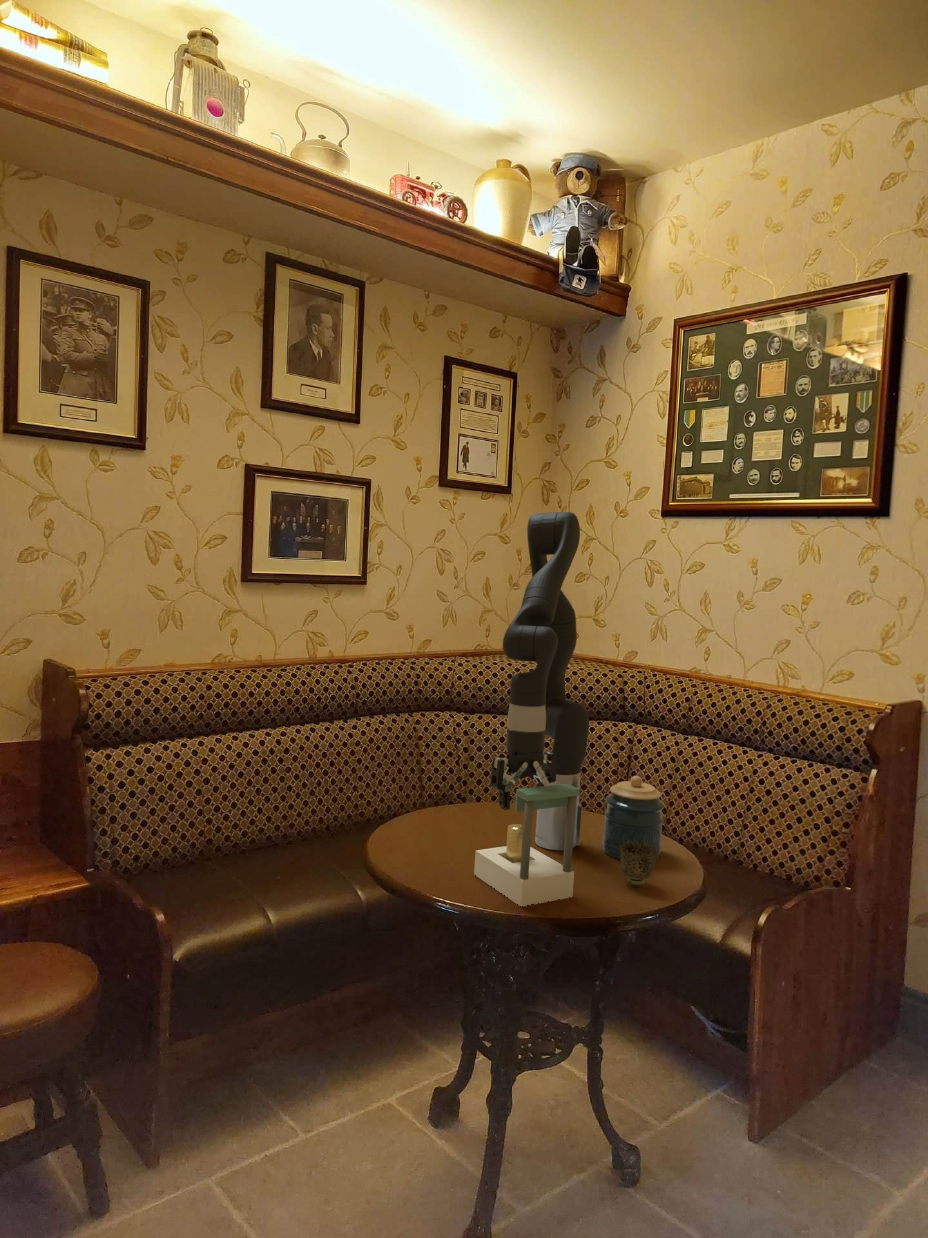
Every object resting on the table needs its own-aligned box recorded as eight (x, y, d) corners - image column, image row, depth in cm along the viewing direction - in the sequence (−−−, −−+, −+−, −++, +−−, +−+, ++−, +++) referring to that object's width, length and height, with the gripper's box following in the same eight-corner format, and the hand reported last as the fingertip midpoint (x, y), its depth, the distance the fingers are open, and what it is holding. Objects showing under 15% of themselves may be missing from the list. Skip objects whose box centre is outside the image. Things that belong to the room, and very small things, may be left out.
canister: (666, 865, 183) (673, 785, 181) (607, 862, 183) (613, 782, 181) (653, 844, 196) (658, 770, 194) (597, 841, 196) (602, 767, 194)
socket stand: (523, 866, 177) (529, 767, 175) (572, 897, 162) (580, 789, 161) (474, 874, 171) (480, 772, 169) (520, 907, 156) (528, 795, 154)
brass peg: (517, 871, 171) (520, 823, 170) (528, 878, 168) (531, 829, 167) (500, 874, 169) (503, 825, 168) (511, 881, 166) (514, 831, 165)
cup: (628, 875, 175) (630, 837, 175) (660, 885, 171) (663, 847, 170) (610, 884, 170) (613, 846, 169) (643, 895, 165) (646, 855, 164)
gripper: (544, 720, 173) (540, 797, 174) (485, 725, 165) (482, 805, 167) (566, 727, 166) (562, 807, 168) (507, 733, 159) (503, 816, 160)
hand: (522, 806), depth 167 cm, fingers open, 8 cm apart
